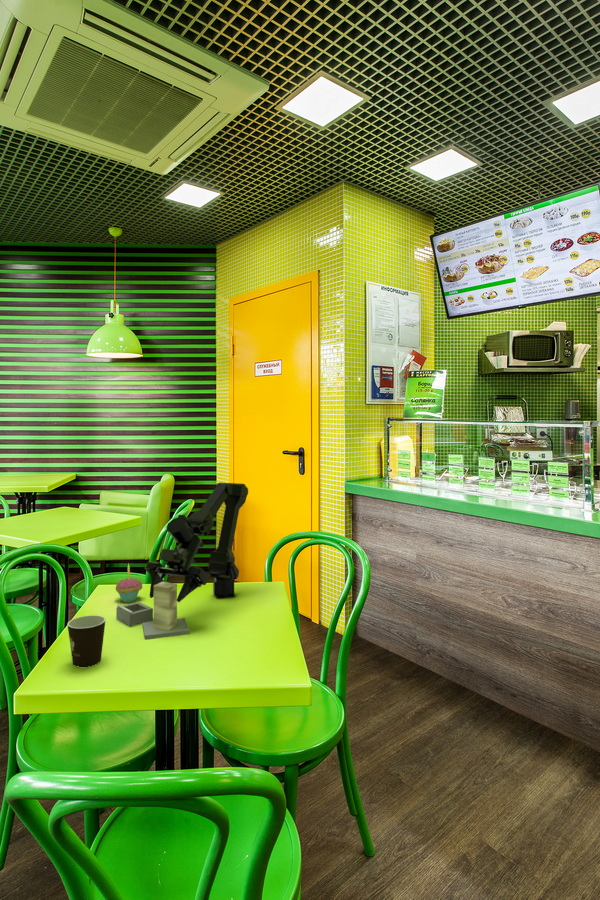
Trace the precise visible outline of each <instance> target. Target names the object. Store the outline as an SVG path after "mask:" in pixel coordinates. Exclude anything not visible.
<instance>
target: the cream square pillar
mask: <svg viewBox="0 0 600 900" xmlns="http://www.w3.org/2000/svg"><path fill="white" fill-rule="evenodd" d="M177 598H178V584H177V583H174V582H168V581H167V582H165V581H164V582H161V583H158V584H156V585H154V596H153V621H154V628H159V629H165V630H170V629H171V628H173V627H175V626H176V625H177V619H178V602H177Z"/></svg>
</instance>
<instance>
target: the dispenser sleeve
mask: <svg viewBox="0 0 600 900" xmlns="http://www.w3.org/2000/svg"><path fill="white" fill-rule="evenodd" d="M115 610H116V611H115V612H116V617H115V618H116V620H118V621H119V622H121V623H123V624H125V625H126V626H128V627H133V626H136V625H140V624H143V622H152V621H154V607H152V606H149V605H147V604H145V603H143V602H141V601H137V602H132V603H129V604H124V605H121V604H119V603H118V604H116V609H115Z"/></svg>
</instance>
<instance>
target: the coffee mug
mask: <svg viewBox="0 0 600 900" xmlns="http://www.w3.org/2000/svg"><path fill="white" fill-rule="evenodd" d="M105 628H106V617H105V616H102V615H97V614H96V615H94V614H93V615H92V614H90V615H83V616H82V615H81V616H78V617H75V618H73V619H71V620H69V621H67V631H68V639H69V645H70V653H71V660H72V666H74V665H75V666H79V667H86V668H89V667H88V666H91V667H93V666H92V665H94V666H96V665H98V664H99V663H100V662H101V661H102V654H103V646H104V637H105V636H104V635H105ZM98 662H99V663H98ZM97 663H98V664H97ZM95 664H96V665H95ZM75 666H74V667H75Z"/></svg>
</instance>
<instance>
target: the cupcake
mask: <svg viewBox="0 0 600 900" xmlns="http://www.w3.org/2000/svg"><path fill="white" fill-rule="evenodd" d="M127 564H128V565H127V578H124V579H121V580H119V581H118V582H117V583H116V585H115V591H116V592H117V594H118V596H119V597H120V600H121V602H123V603H131V601H132V602H135V601H136V600H137V598H138V594H139V592H140V591H141V590H142V589H143V582H142V581H141V580H139V579H137V578H134V577H131V570H130V569H131V567H130V566H131V565H130V563H129V562H128V563H127Z"/></svg>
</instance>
